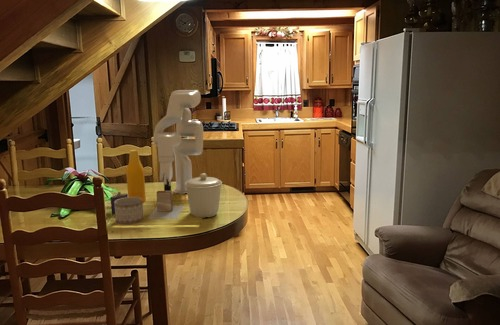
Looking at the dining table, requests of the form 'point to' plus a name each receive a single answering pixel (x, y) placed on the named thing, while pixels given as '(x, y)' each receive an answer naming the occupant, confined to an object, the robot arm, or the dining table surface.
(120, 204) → the planter
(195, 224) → the dining table surface
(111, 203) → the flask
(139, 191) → the beer bottle
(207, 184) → the canister
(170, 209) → the slab
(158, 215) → the board
